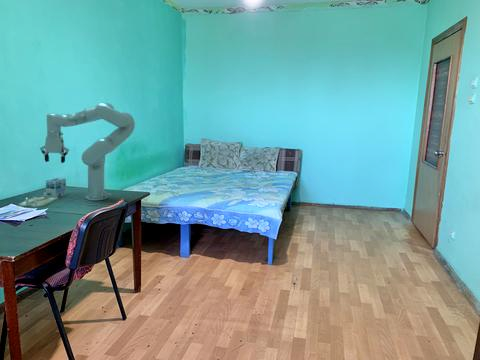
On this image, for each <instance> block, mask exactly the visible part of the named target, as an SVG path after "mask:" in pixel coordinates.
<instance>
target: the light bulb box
mask: <svg viewBox="0 0 480 360" xmlns="http://www.w3.org/2000/svg"><path fill="white" fill-rule="evenodd" d="M45 192H46V196H47V197H49V198H58V199H59V198H61V197H64V196H67V179H66V178H63V177H62V178H61V177H55V178H54V177H53V178H51V179H46V180H45Z"/></svg>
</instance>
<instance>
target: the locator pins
mask: <svg viewBox="0 0 480 360" xmlns="http://www.w3.org/2000/svg"><path fill="white" fill-rule="evenodd" d="M43 197H44V198H47V195H46V191H45V192H43ZM34 199H35V205H37V204H38V202H37V198H34ZM25 201H26V204H29V197H25Z"/></svg>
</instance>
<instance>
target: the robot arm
mask: <svg viewBox="0 0 480 360" xmlns="http://www.w3.org/2000/svg"><path fill="white" fill-rule="evenodd" d="M99 120H104V121H105V122H108V123H110V124H111V125H113V126H115V127H117V128H115V129H114V130H113V131H112V132H111V133H110V134H109V135H107V136H106V137H105V136H104V137H102V138H99V139H97V140H96V141H95V142H93V143H92V144H91V145H90V146H89V147H88V148H87V149H85V151H83V152H82V154H81V161H82V163H83V164H84V165H86V166H87V192H88V193H87V195H86V196H85V200H87V201H93V202H94V201H95V202H96V201H104V200H106V199H108V198H109V197H111V196H112V193H110V192H107V190H105V164H106V156H107V155H108V154H110V153H113V152H114V151H115V150H116V149H118V147H119V146H121V145H122V144H123V143H124V142H125V141H126V140H127V139H128V138H129V137H130V136H132V134H133V132H134V130H135V118H134V116H133V115H131V114H130V113H128V112H120V111H119V110H117V109H115V107H114V106H113V104H112V103H109V102H100V103H98V104H96V105H93V106H87V107H85V108H84V109H83V110H81V111H77V112H74V113H63V114H61V113H60V114H59V113H46V137H45V141H44V145H42V146H41V147H39V150H40V151H41V153H42V154H43V156H44V162H46V163H48V162H50V155H49V154H59V155H61V156H60V162H61V164H63V163H65V161H66V156H67V155H68V153H69V151H70V149H69V148H67V147H65V142H64V137H63V135H64V133H63V132H62V127H63V128H67V127H74V126H79V125H83V124H87V123H92V122H95V121H99Z"/></svg>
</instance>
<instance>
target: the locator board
mask: <svg viewBox="0 0 480 360" xmlns="http://www.w3.org/2000/svg"><path fill="white" fill-rule="evenodd" d="M34 198H37V202H38V204H37V205H35V199H34ZM28 200H29V204H26V200H24V201H22V202H19V203H17V207H29V208H45V207H46V206H48V205H50V204H52V203H55V202H57V201H58V200H59V197H58V198H49V197H47V198H44V196H33V197H31V198H28Z"/></svg>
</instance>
